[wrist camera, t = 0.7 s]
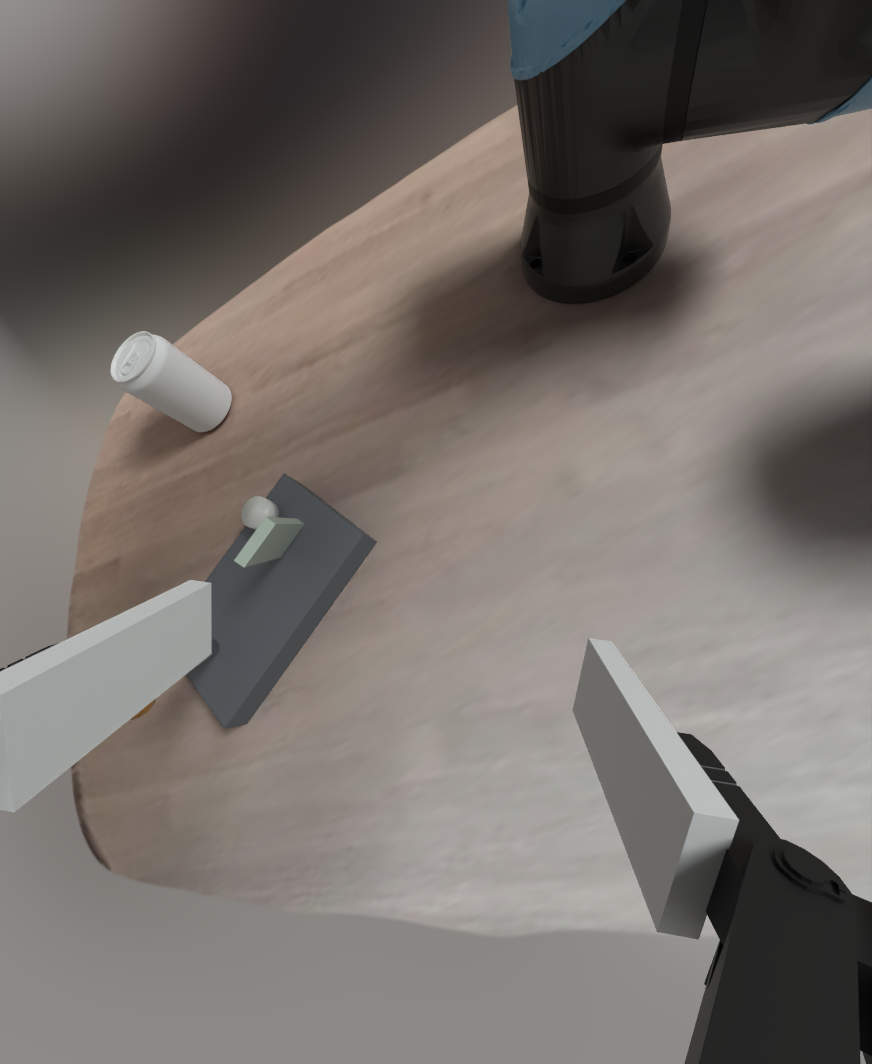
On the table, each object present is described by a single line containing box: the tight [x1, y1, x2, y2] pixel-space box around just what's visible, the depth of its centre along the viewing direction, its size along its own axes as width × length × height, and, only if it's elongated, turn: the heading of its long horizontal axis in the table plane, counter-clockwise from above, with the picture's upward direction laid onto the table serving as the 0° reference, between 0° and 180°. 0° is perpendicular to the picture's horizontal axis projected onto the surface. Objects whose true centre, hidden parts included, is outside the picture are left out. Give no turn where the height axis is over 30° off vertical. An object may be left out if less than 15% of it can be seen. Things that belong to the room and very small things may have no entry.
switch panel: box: [186, 474, 377, 728], centre depth 46 cm, size 24×14×3 cm, turn 142°
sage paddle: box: [234, 517, 304, 568], centre depth 38 cm, size 4×1×10 cm, turn 142°
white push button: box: [241, 496, 279, 530], centre depth 45 cm, size 4×4×2 cm
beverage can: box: [111, 331, 232, 432], centre depth 55 cm, size 8×8×12 cm
